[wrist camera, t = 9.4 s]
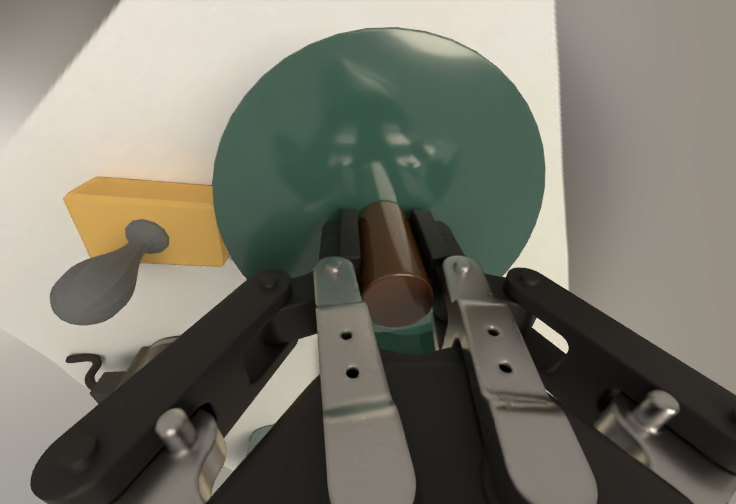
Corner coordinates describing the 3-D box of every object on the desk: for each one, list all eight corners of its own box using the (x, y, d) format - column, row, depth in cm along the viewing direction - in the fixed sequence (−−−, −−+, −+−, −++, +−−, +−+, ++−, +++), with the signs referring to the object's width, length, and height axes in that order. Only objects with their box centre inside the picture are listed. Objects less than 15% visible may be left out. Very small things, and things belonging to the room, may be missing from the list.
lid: (251, 320, 19) (217, 427, 13) (176, 17, 10) (15, 0, 5) (486, 315, 20) (536, 414, 14) (587, 37, 11) (783, 38, 6)
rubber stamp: (118, 237, 27) (-7, 350, 18) (94, 174, 24) (-76, 269, 14) (236, 244, 29) (181, 353, 19) (227, 185, 25) (156, 279, 16)
